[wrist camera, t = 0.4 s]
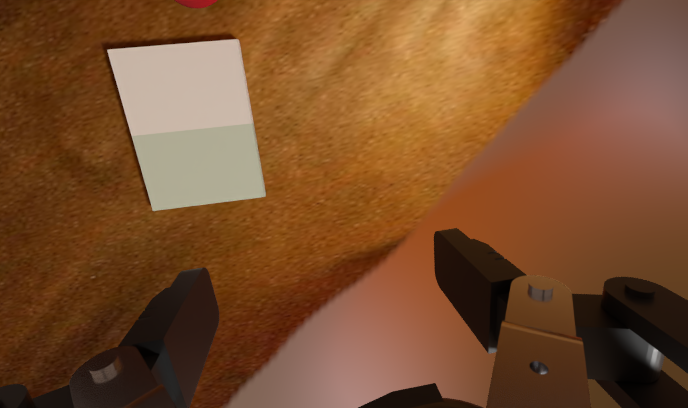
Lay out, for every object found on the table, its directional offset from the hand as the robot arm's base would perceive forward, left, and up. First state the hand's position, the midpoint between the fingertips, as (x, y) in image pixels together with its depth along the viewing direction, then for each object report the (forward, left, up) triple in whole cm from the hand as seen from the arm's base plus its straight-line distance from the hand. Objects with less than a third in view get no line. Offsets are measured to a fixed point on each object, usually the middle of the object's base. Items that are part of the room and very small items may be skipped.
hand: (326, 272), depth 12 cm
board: (-4, -11, -27) cm, 30 cm away
